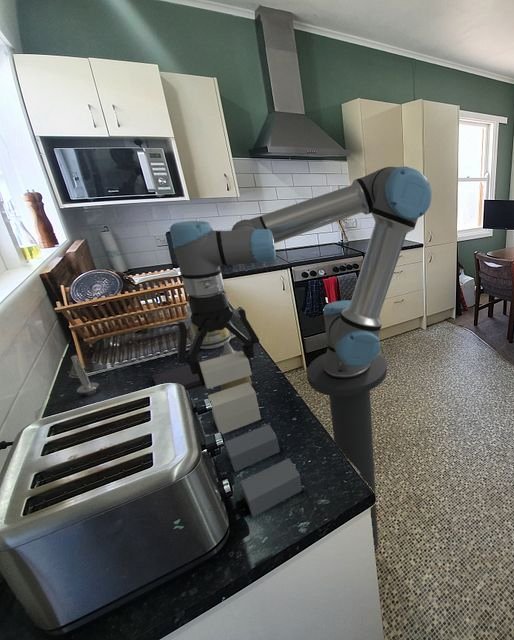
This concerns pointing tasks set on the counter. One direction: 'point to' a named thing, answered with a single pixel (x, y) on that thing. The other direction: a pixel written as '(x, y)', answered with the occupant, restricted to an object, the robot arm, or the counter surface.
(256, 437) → the grey block
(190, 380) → the notebook
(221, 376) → the tan rectangular block
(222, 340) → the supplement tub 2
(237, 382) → the squeeze bottle
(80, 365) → the screw
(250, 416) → the beige rectangular block
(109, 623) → the counter surface
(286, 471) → the grey beveled block
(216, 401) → the beige block
